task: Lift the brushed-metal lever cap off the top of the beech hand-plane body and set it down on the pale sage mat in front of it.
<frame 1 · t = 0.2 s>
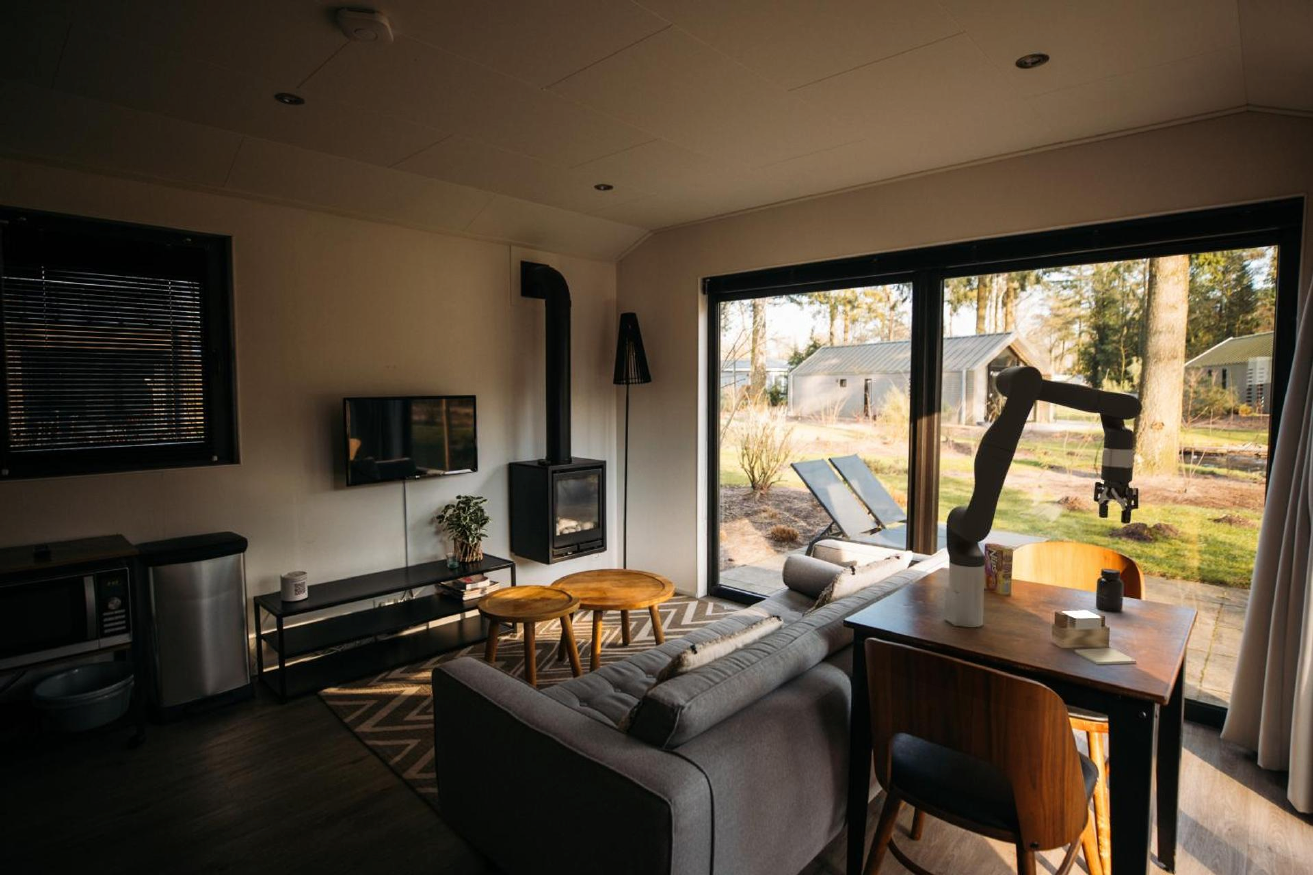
hand: (1114, 520, 200), 29 cm above the table, tool pointing down, fingers open, 8 cm apart
plane body: (1080, 644, 181), on the table
supplement bottle: (1108, 609, 211), on the table
candy box: (997, 591, 230), on the table
lever cap: (1080, 625, 181), point 5 cm above the table, touching plane body
mat: (1104, 657, 173), on the table
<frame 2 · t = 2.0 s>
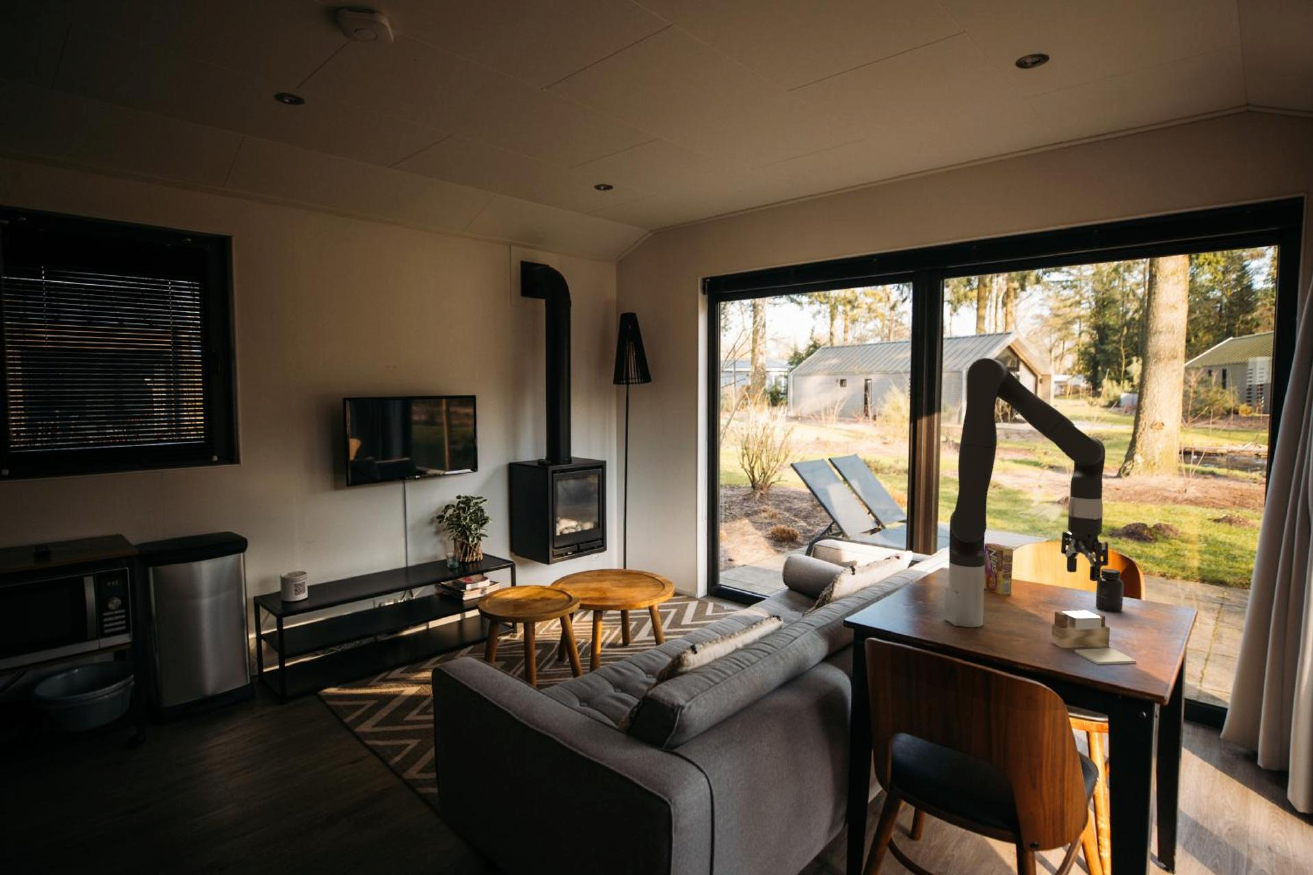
hand: (1082, 576, 180), 18 cm above the table, tool pointing down, fingers open, 8 cm apart
nothing on the table moved.
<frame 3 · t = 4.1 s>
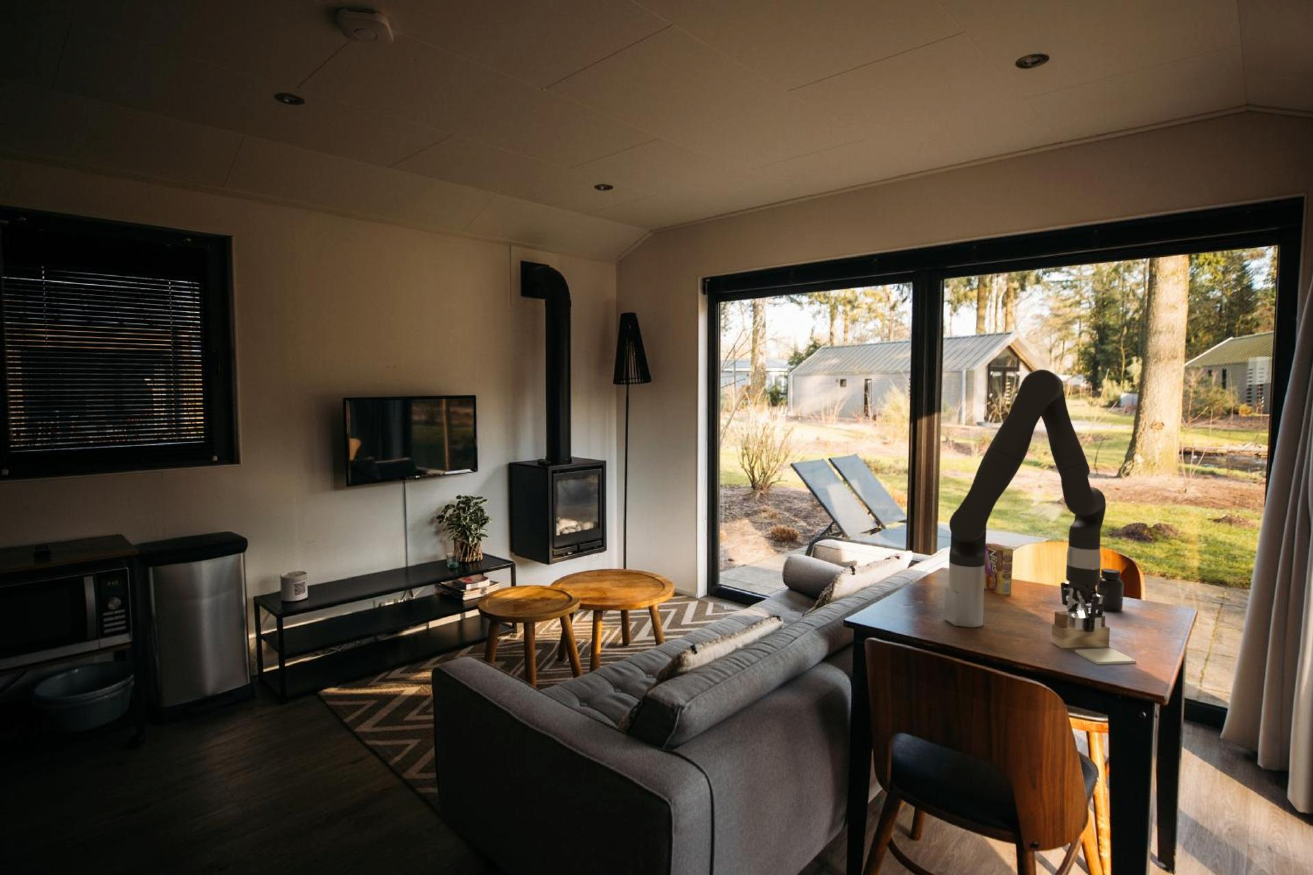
hand: (1080, 627, 181), 4 cm above the table, tool pointing down, fingers closed on lever cap, 5 cm apart
lever cap: (1080, 625, 181), point 5 cm above the table, touching gripper, plane body
everything else where it was.
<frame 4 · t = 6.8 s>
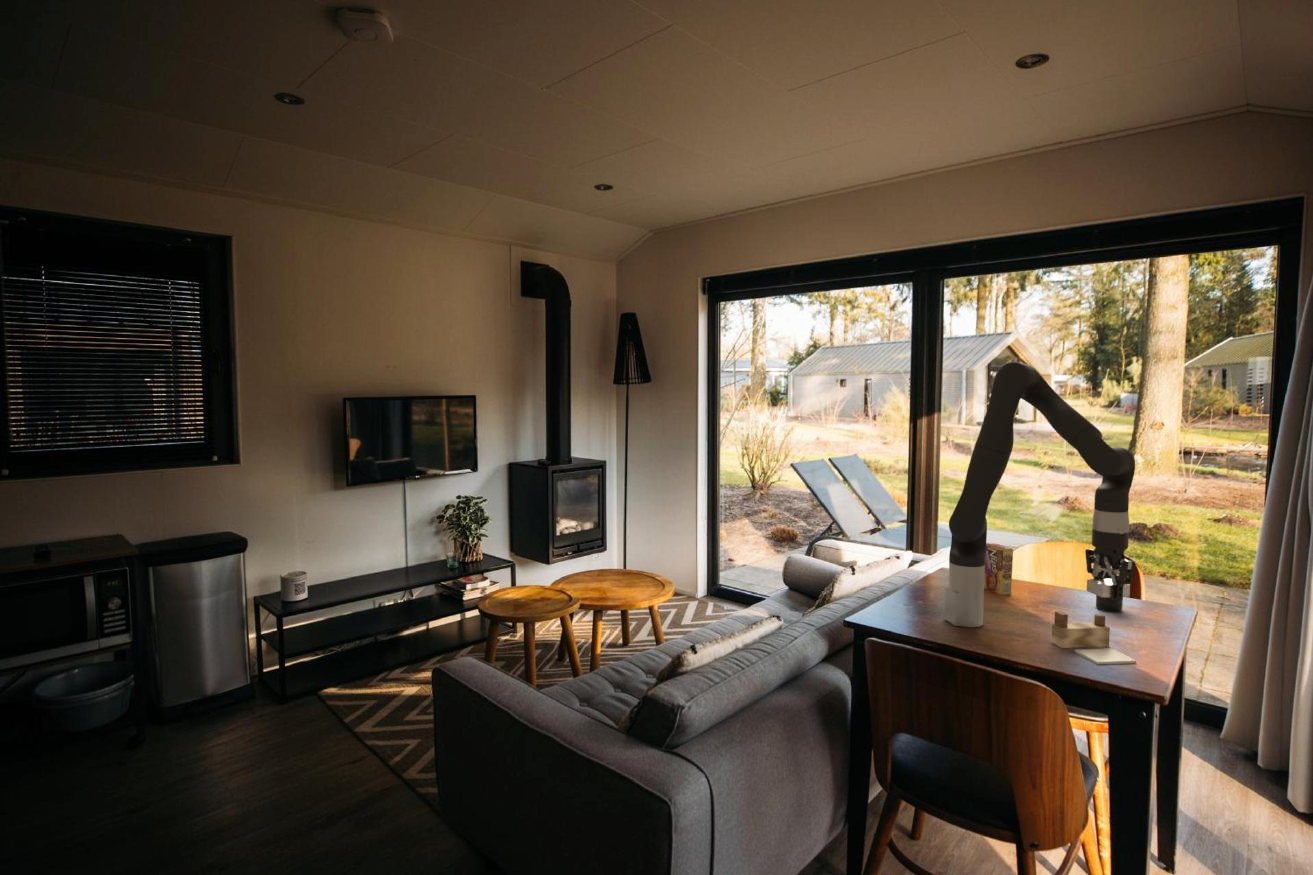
hand: (1107, 595, 172), 16 cm above the table, tool pointing down, fingers closed on lever cap, 5 cm apart
lever cap: (1107, 593, 172), point 16 cm above the table, touching gripper
everything else where it was.
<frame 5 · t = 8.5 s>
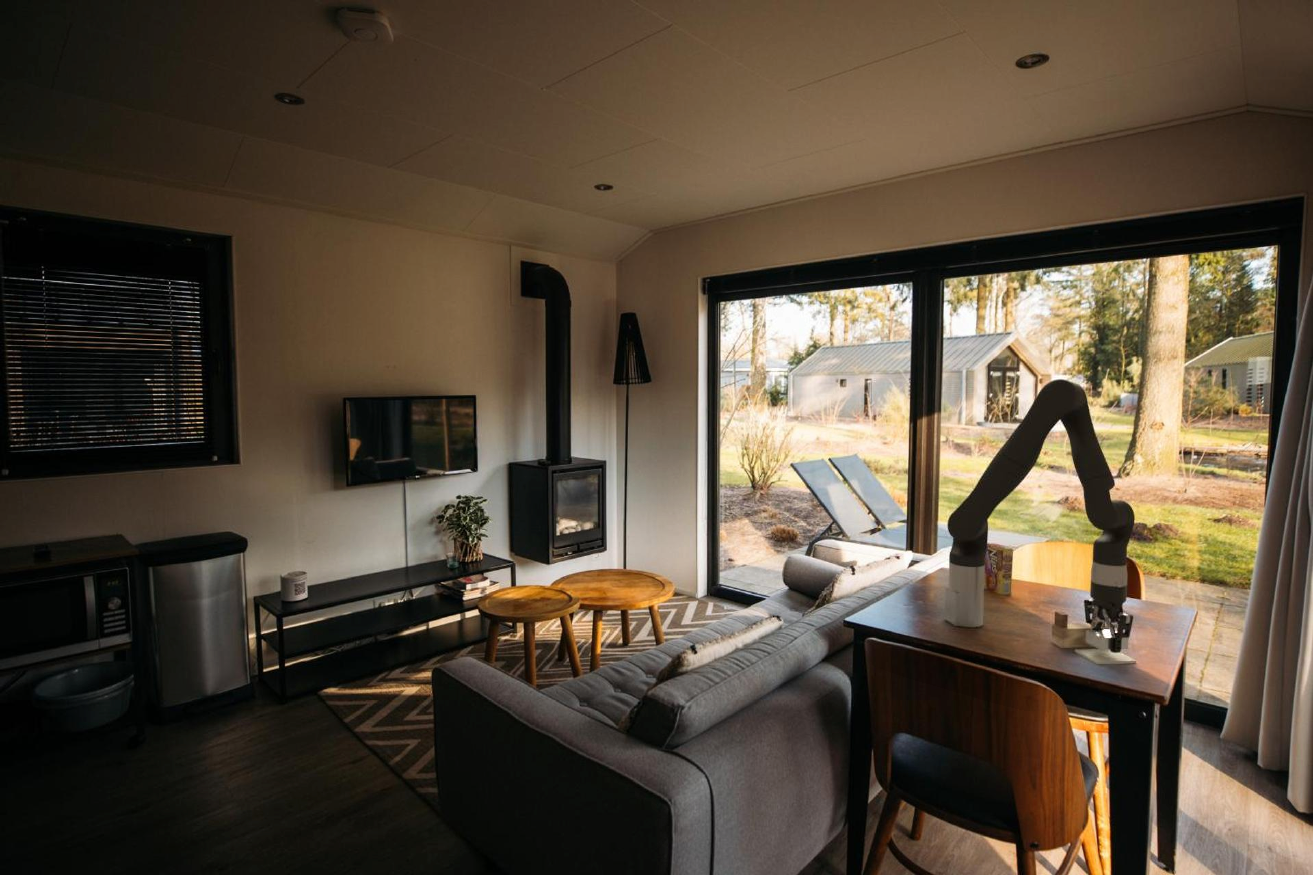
hand: (1106, 647, 172), 3 cm above the table, tool pointing down, fingers closed on lever cap, 5 cm apart
lever cap: (1106, 645, 172), point 3 cm above the table, touching gripper
everything else where it was.
when the fingers open (1 cm above the table, at t = 9.7 s): lever cap drops 1 cm, resting on mat.
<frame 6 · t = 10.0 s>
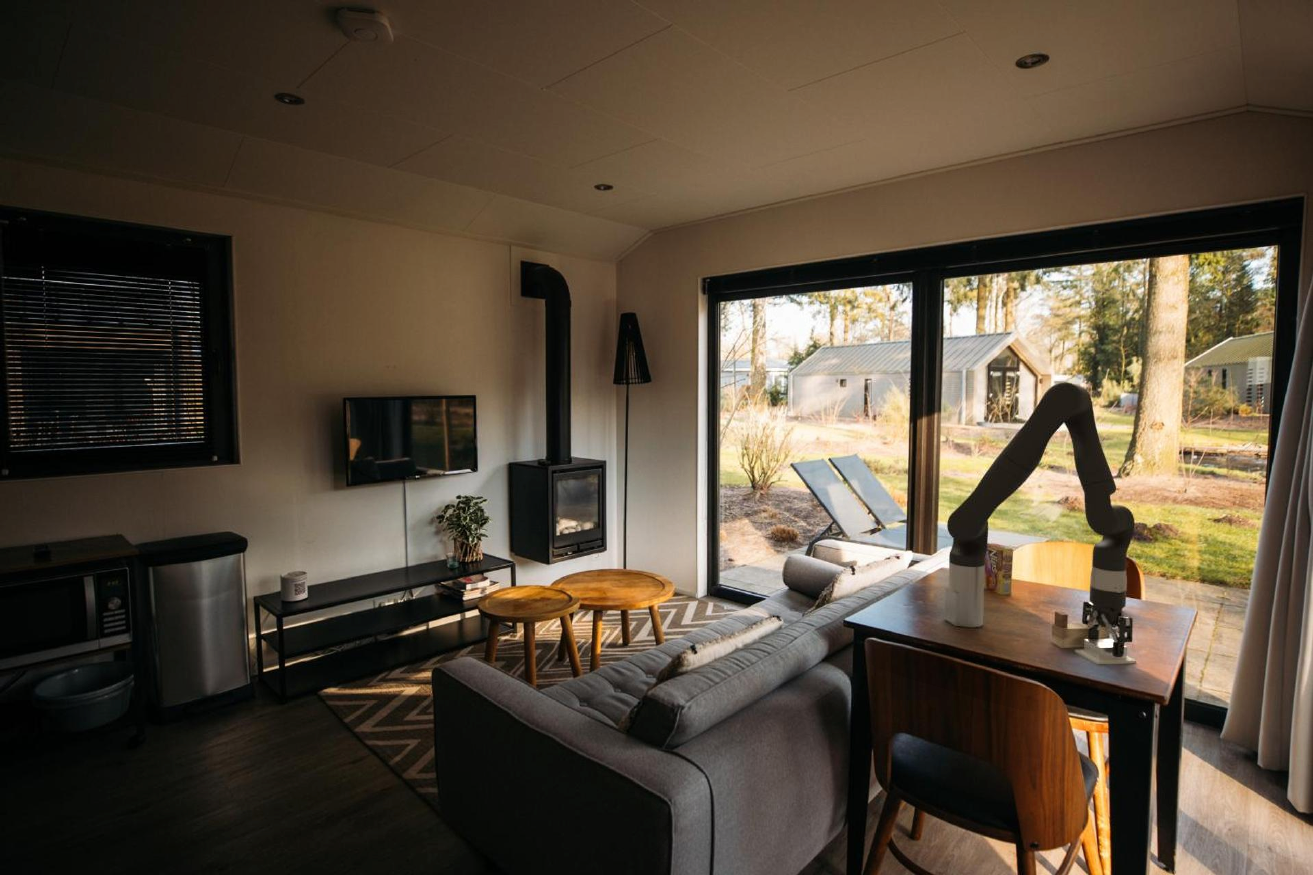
hand: (1105, 650, 172), 2 cm above the table, tool pointing down, fingers open, 8 cm apart
lever cap: (1105, 654, 173), point 1 cm above the table, touching mat
everything else where it was.
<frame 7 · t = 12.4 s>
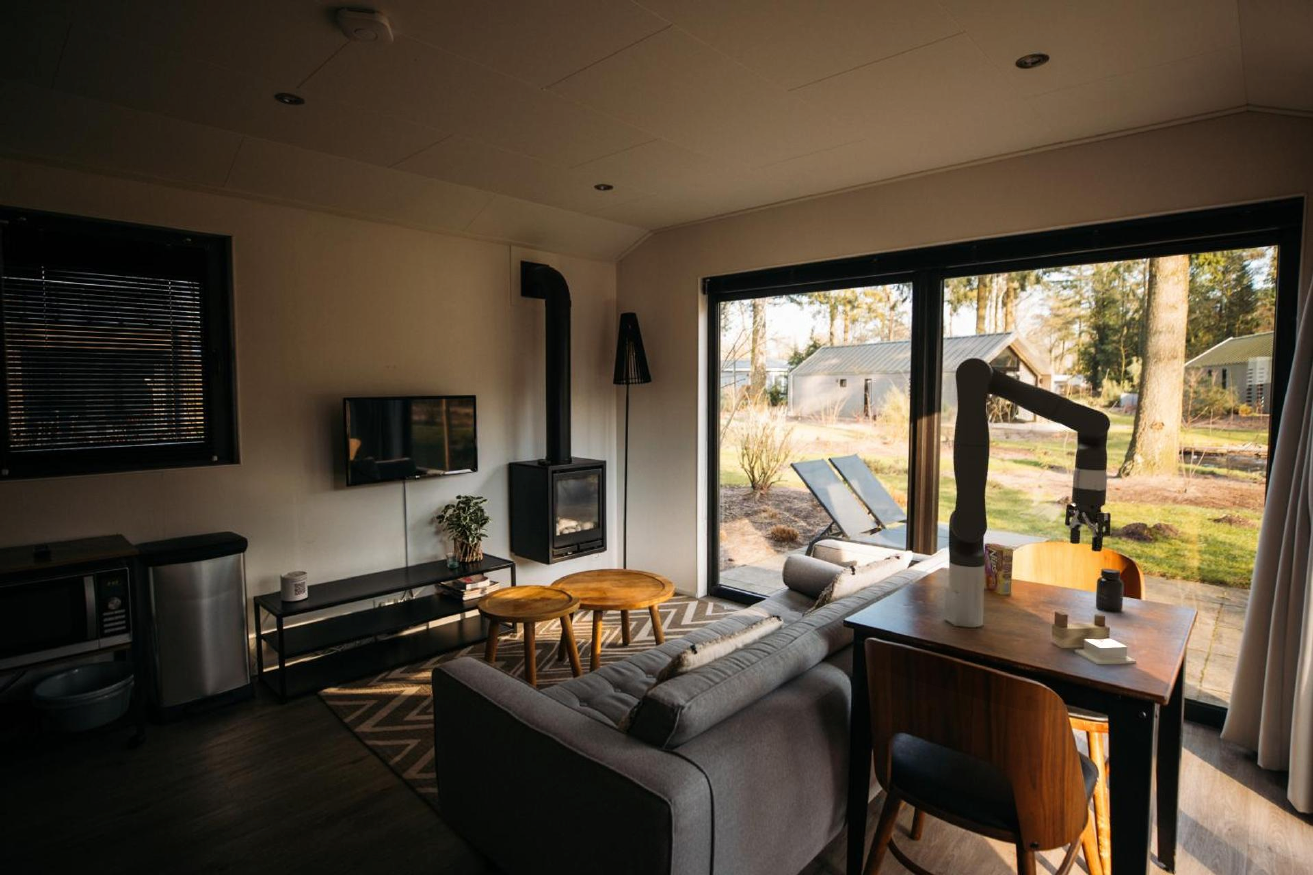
hand: (1085, 547, 183), 25 cm above the table, tool pointing down, fingers open, 8 cm apart
nothing on the table moved.
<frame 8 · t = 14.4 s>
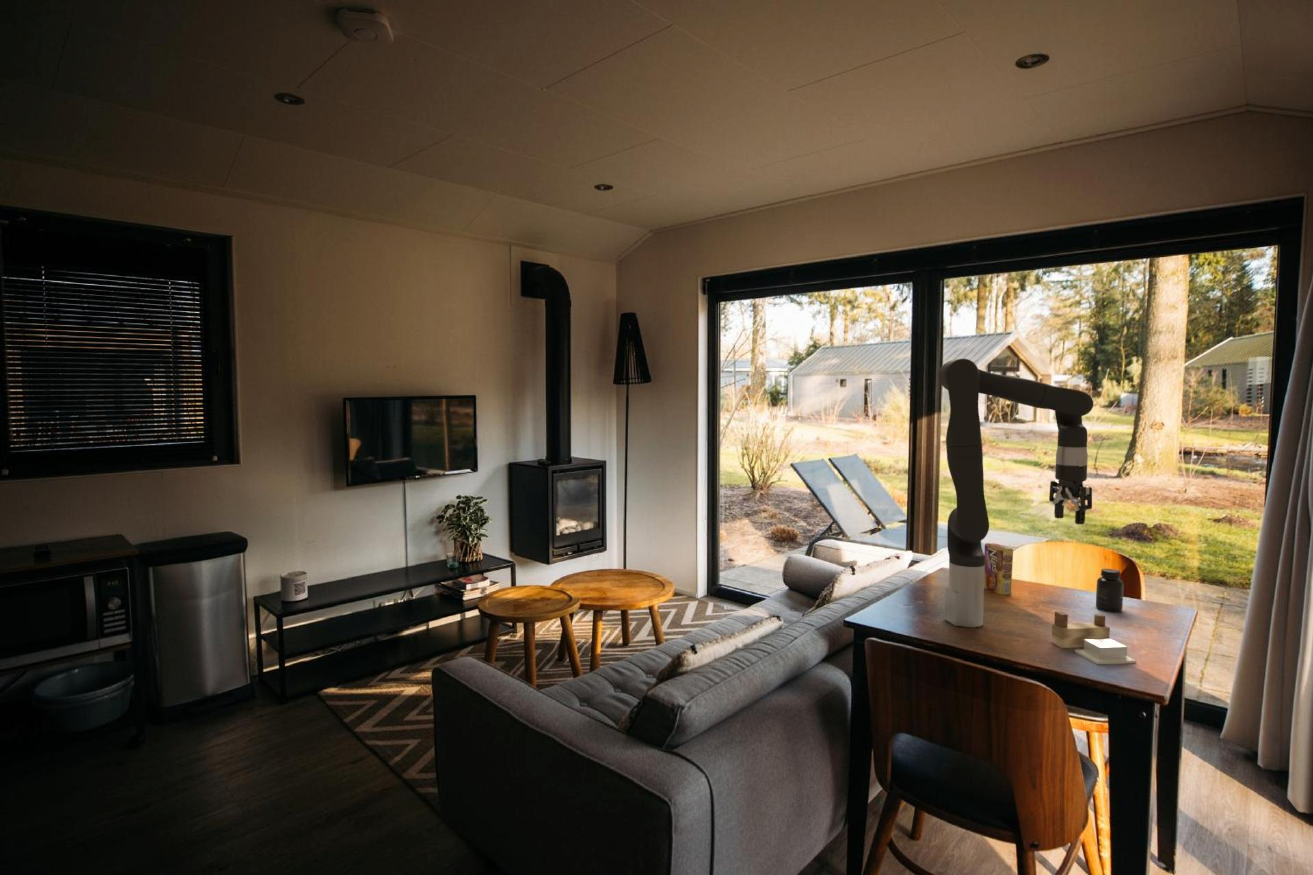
hand: (1069, 520, 193), 30 cm above the table, tool pointing down, fingers open, 8 cm apart
nothing on the table moved.
at the end: lever cap inside the target area on the mat (0.1 cm from its centre), point 0.6 cm above the mat's base; lever cap touching mat; the gripper is holding nothing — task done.
